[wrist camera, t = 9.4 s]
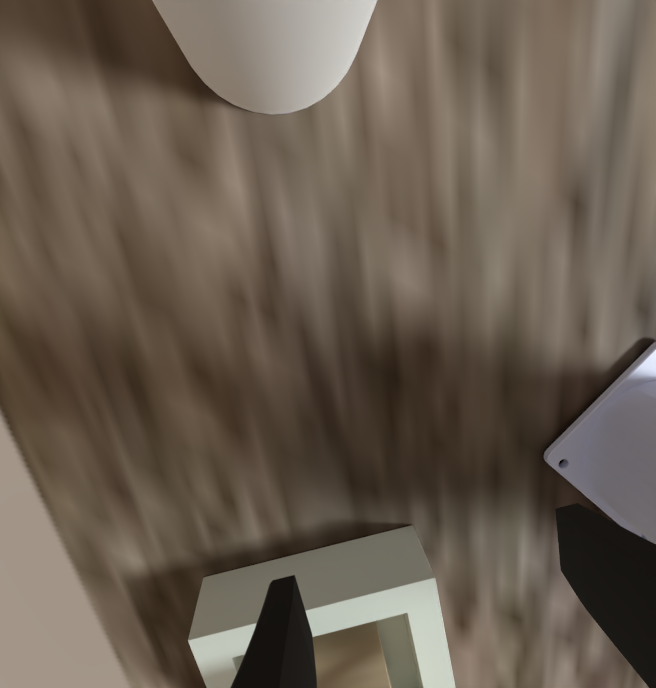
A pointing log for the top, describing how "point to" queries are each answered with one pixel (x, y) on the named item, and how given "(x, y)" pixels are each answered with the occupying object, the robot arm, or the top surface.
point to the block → (351, 658)
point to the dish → (334, 607)
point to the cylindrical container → (268, 47)
